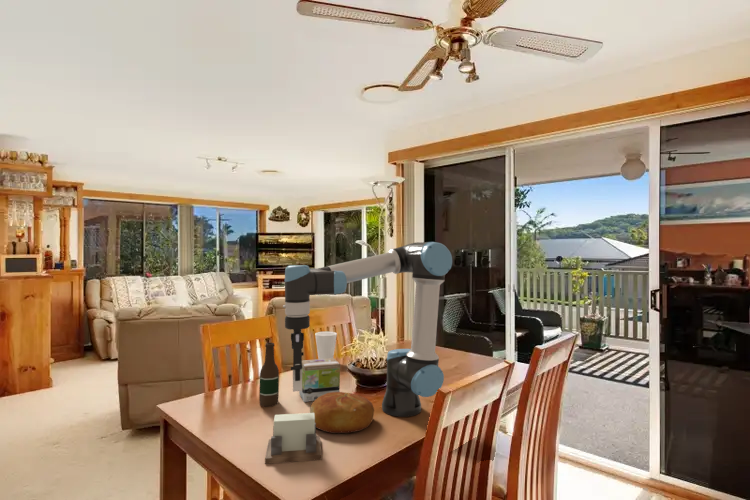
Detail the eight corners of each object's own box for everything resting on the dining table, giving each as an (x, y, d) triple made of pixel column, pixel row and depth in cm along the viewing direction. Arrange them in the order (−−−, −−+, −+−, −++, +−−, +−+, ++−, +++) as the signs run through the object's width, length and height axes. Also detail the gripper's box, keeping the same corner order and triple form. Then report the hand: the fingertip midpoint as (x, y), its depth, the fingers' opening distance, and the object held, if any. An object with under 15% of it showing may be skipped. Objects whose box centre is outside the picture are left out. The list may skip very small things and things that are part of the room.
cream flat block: (314, 441, 128) (314, 412, 128) (314, 449, 123) (314, 419, 123) (274, 444, 126) (274, 414, 126) (273, 452, 121) (273, 421, 121)
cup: (315, 360, 228) (315, 331, 228) (336, 359, 229) (336, 331, 229) (314, 366, 216) (314, 335, 216) (336, 365, 217) (337, 335, 217)
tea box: (303, 403, 164) (304, 366, 164) (299, 394, 173) (299, 359, 173) (340, 398, 169) (340, 362, 169) (333, 390, 179) (333, 356, 179)
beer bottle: (273, 408, 158) (274, 345, 158) (255, 406, 160) (256, 344, 160) (282, 400, 166) (283, 341, 166) (264, 399, 168) (265, 340, 168)
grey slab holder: (320, 440, 132) (320, 420, 132) (321, 459, 120) (321, 437, 120) (268, 444, 129) (269, 423, 129) (265, 463, 117) (265, 441, 117)
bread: (353, 406, 162) (353, 380, 162) (386, 428, 142) (386, 399, 142) (298, 418, 150) (299, 390, 150) (326, 444, 130) (327, 412, 130)
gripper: (286, 309, 139) (286, 372, 139) (283, 322, 114) (283, 398, 114) (308, 308, 140) (308, 370, 140) (310, 321, 116) (311, 396, 116)
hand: (297, 383), depth 127 cm, fingers open, 13 cm apart
